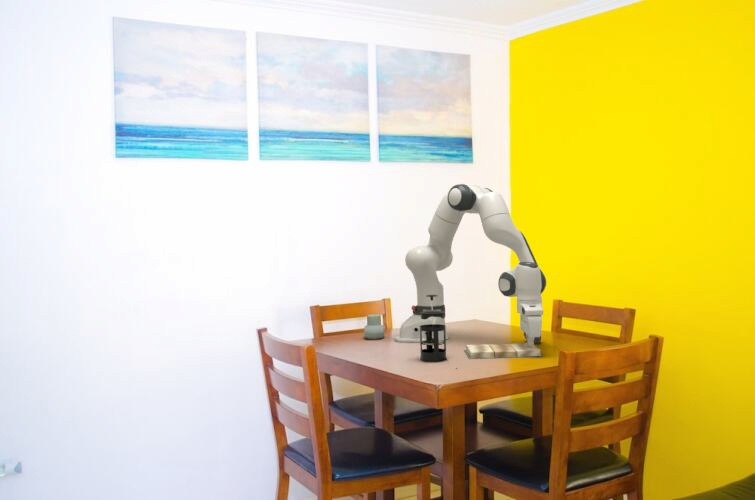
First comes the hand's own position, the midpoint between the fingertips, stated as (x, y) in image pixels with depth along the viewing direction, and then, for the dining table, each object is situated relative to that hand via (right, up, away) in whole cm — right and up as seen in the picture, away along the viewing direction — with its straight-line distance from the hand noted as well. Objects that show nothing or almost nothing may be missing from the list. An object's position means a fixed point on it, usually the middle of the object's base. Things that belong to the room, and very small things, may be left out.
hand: (530, 346), depth 251 cm
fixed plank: (-10, -3, 0) cm, 10 cm away
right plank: (-2, -2, 0) cm, 3 cm away
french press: (-35, -5, -3) cm, 35 cm away
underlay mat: (-10, -4, 0) cm, 11 cm away
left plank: (-18, -3, +1) cm, 18 cm away
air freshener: (-56, -4, +48) cm, 74 cm away
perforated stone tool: (+6, -3, +24) cm, 25 cm away
